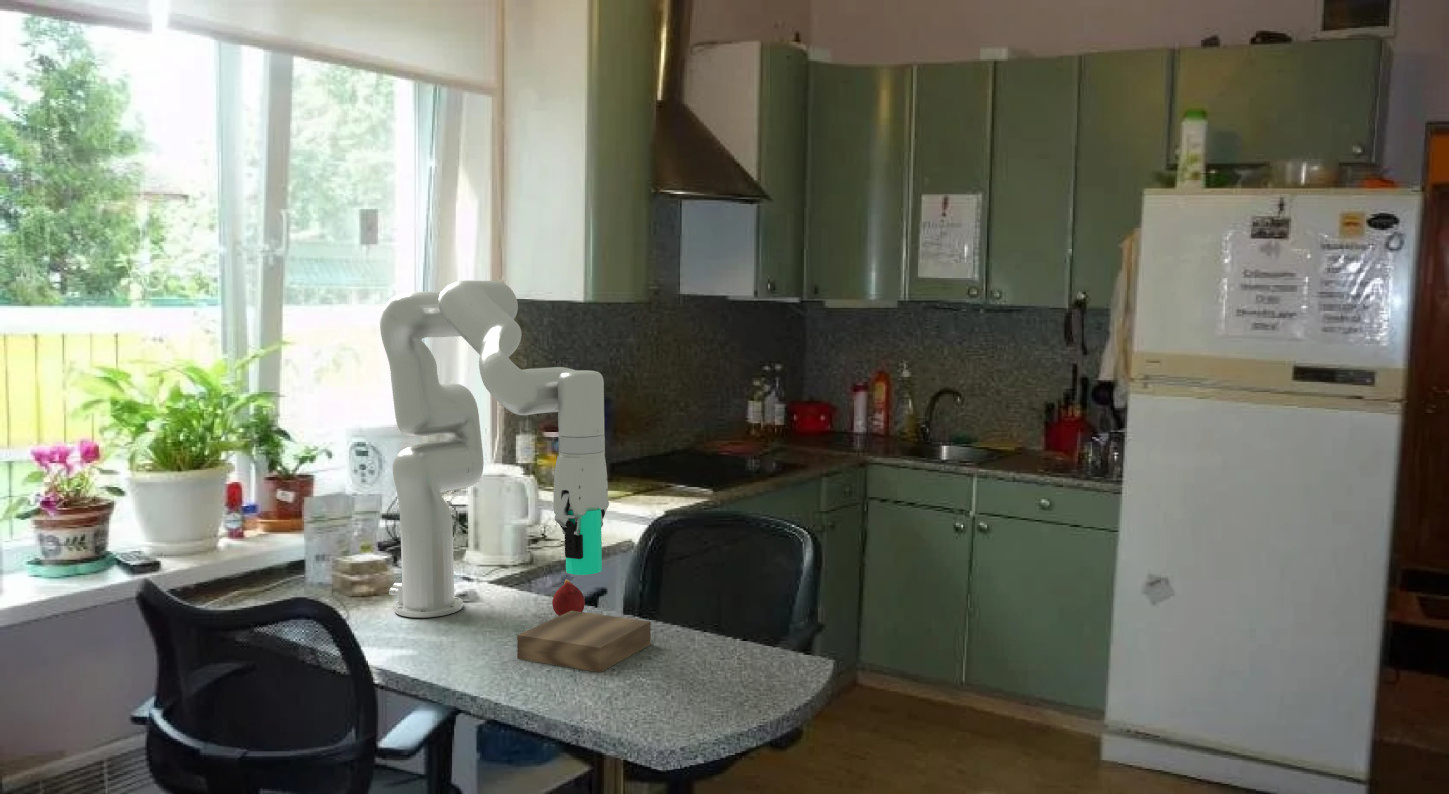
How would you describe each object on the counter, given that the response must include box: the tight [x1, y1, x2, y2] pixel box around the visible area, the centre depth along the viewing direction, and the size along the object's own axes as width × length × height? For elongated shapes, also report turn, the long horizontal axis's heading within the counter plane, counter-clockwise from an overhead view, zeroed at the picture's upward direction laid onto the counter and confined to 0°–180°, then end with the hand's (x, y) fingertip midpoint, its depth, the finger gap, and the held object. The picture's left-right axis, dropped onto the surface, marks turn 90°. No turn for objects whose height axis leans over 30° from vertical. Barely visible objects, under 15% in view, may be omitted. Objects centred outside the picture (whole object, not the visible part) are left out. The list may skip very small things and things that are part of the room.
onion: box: [551, 578, 586, 617], centre depth 210 cm, size 6×6×8 cm
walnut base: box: [516, 611, 652, 673], centre depth 194 cm, size 16×16×4 cm
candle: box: [565, 508, 603, 576], centre depth 192 cm, size 6×6×12 cm
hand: (583, 553), depth 192 cm, fingers closed on candle, 4 cm apart
